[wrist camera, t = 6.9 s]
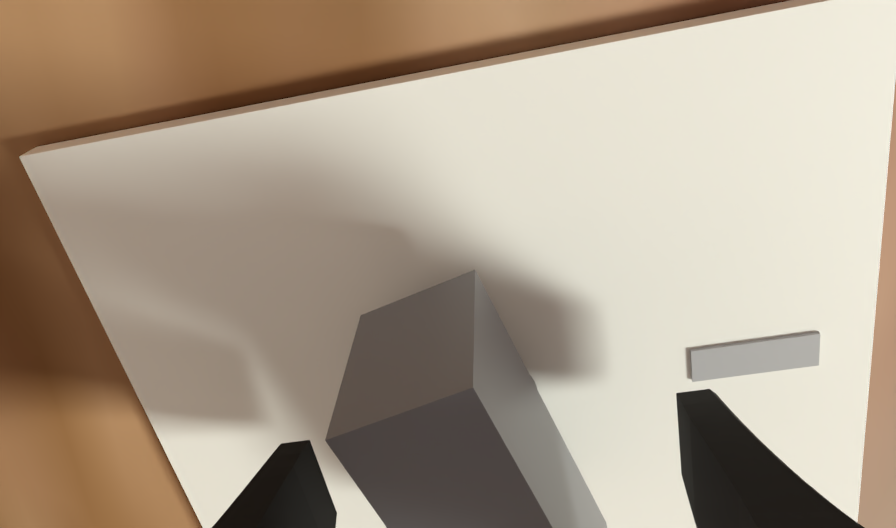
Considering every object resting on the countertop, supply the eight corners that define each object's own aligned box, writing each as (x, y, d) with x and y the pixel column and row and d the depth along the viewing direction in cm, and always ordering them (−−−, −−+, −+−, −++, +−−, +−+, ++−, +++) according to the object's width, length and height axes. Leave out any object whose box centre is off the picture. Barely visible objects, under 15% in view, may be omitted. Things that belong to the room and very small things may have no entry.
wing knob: (599, 489, 17) (637, 684, 13) (505, 518, 17) (513, 714, 13) (475, 245, 14) (472, 394, 10) (368, 289, 14) (322, 448, 10)
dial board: (884, -19, 12) (905, -13, 12) (843, 550, 18) (855, 572, 18) (36, 146, 14) (15, 158, 14) (257, 607, 20) (250, 630, 20)
